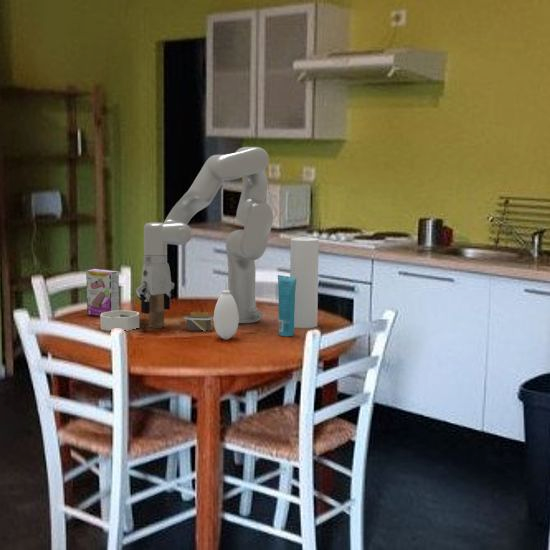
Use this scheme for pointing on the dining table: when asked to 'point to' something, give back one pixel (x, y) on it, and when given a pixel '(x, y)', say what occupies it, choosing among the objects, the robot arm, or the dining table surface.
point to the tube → (286, 304)
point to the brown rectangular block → (156, 311)
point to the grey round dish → (119, 320)
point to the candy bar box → (102, 291)
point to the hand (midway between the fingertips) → (155, 311)
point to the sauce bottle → (226, 315)
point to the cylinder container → (305, 280)
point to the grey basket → (199, 321)
